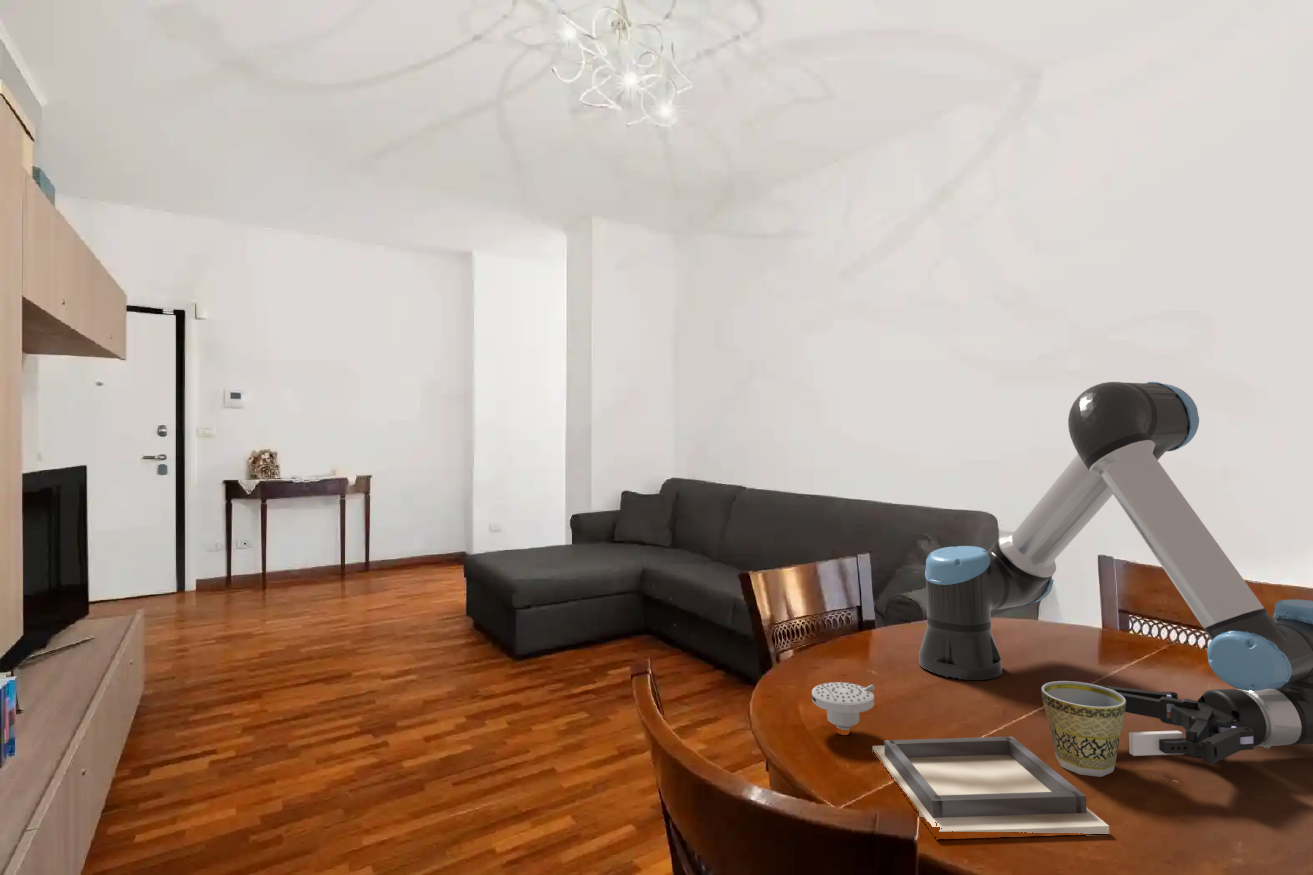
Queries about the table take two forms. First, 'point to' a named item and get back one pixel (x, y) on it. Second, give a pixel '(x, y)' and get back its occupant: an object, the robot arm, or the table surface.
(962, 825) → the square frame board
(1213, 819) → the table surface
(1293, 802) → the table surface
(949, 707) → the table surface
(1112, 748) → the ceramic cup
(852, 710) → the showerhead
